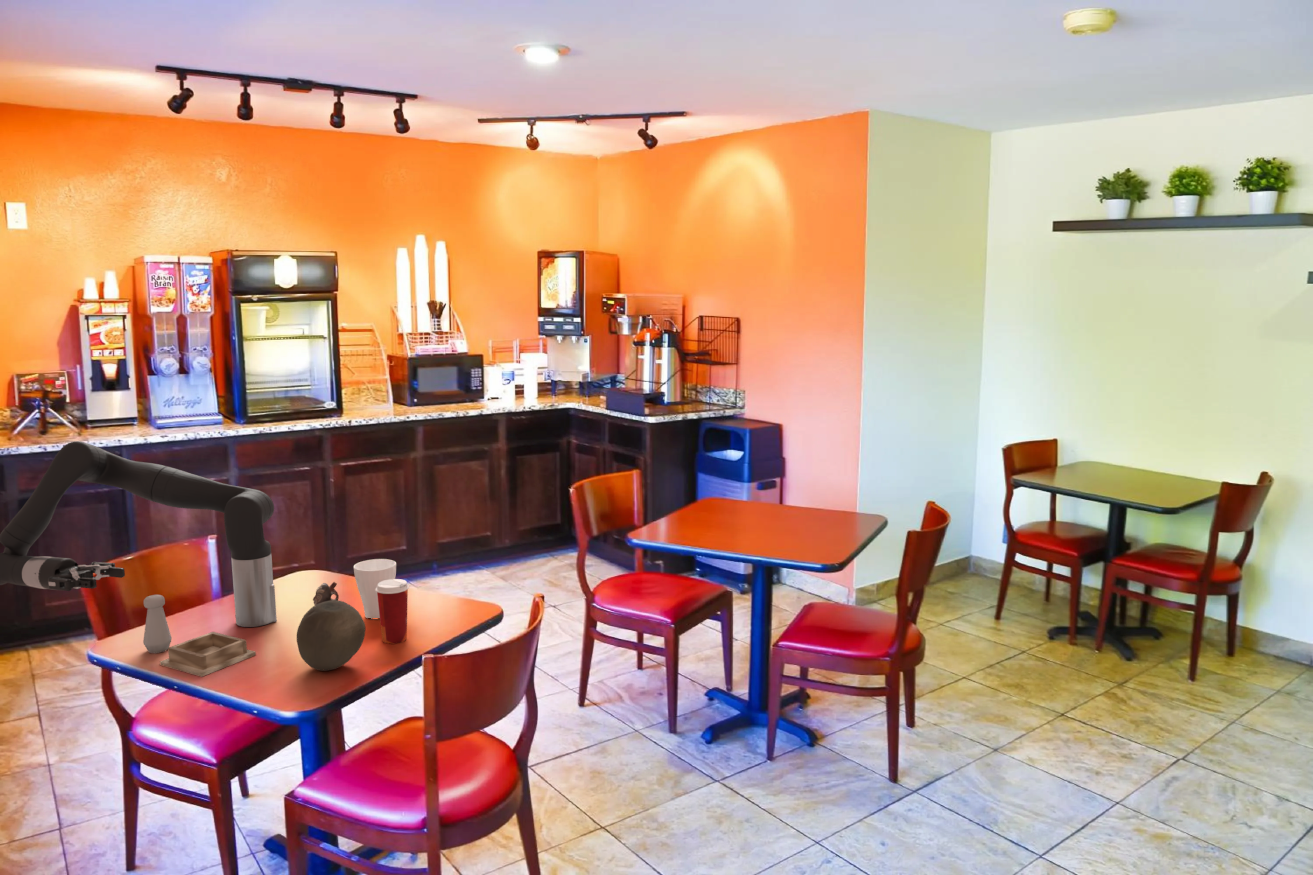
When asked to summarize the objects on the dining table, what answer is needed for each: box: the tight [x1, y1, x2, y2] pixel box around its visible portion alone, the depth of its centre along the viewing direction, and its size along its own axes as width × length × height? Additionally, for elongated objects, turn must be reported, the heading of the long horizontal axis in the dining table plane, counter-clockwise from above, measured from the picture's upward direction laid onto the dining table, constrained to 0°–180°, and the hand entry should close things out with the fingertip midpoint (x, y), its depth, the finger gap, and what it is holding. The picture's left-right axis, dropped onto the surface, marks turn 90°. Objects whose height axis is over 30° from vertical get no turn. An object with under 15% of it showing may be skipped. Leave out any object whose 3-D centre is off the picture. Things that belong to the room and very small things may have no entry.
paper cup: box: [376, 578, 410, 644], centre depth 225 cm, size 8×8×14 cm
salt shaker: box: [142, 594, 172, 654], centre depth 218 cm, size 6×6×13 cm
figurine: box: [312, 581, 339, 606], centre depth 231 cm, size 7×7×12 cm
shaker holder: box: [159, 631, 257, 678], centre depth 213 cm, size 14×14×4 cm
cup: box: [353, 558, 397, 620], centre depth 242 cm, size 10×10×14 cm
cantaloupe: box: [296, 600, 366, 672], centre depth 208 cm, size 14×14×15 cm
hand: (109, 578), depth 219 cm, fingers open, 8 cm apart
